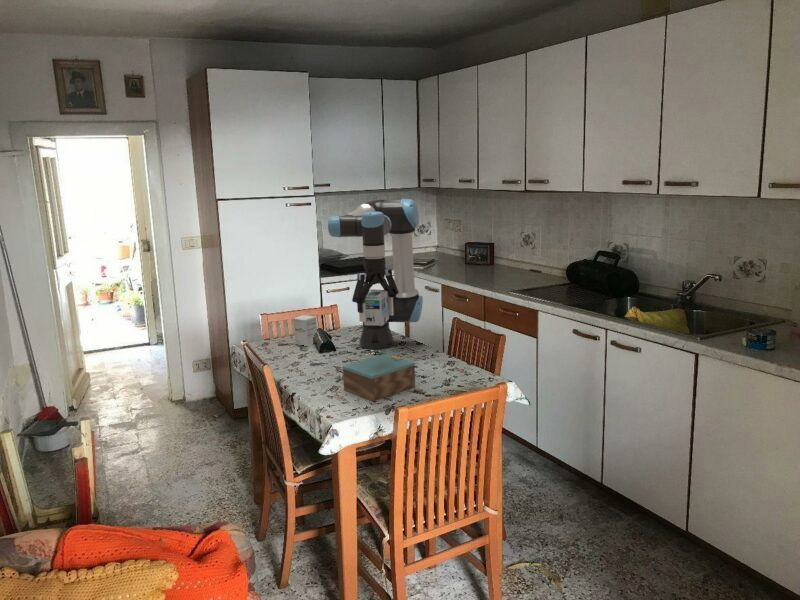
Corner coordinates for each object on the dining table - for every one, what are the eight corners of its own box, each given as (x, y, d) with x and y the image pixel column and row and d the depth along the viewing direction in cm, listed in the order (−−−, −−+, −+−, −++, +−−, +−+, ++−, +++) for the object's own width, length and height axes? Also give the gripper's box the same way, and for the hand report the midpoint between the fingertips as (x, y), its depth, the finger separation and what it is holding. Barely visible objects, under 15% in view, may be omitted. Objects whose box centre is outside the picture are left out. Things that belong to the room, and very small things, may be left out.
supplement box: (294, 345, 291) (292, 317, 289) (306, 341, 297) (304, 314, 295) (306, 347, 287) (305, 319, 285) (318, 343, 293) (316, 316, 290)
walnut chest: (386, 376, 245) (385, 356, 243) (415, 386, 233) (414, 365, 231) (344, 390, 232) (342, 368, 230) (372, 401, 220) (371, 378, 218)
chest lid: (385, 356, 243) (385, 352, 243) (414, 365, 231) (414, 360, 231) (342, 368, 230) (342, 364, 230) (371, 378, 218) (371, 374, 218)
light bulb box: (382, 326, 221) (381, 295, 219) (363, 325, 223) (362, 295, 221) (389, 318, 232) (388, 289, 229) (371, 318, 233) (370, 288, 231)
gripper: (393, 252, 233) (395, 310, 238) (339, 260, 217) (342, 322, 222) (407, 253, 228) (409, 313, 232) (353, 262, 212) (356, 326, 216)
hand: (376, 318), depth 227 cm, fingers closed on light bulb box, 12 cm apart
